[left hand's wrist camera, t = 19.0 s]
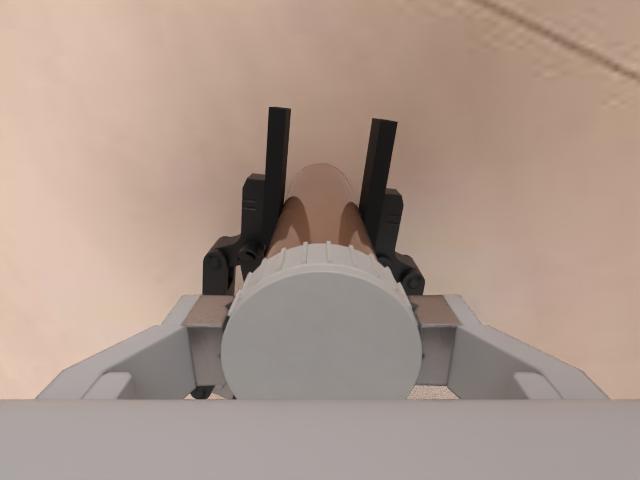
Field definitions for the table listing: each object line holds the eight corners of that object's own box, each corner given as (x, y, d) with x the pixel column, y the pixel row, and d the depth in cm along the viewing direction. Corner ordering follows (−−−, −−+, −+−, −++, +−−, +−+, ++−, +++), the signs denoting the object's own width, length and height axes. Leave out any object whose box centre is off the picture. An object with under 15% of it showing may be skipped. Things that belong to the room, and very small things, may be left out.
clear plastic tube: (300, 154, 24) (264, 246, 8) (359, 175, 24) (431, 299, 9) (282, 212, 25) (220, 385, 9) (338, 230, 26) (367, 424, 10)
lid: (358, 410, 11) (365, 462, 10) (209, 355, 10) (189, 401, 9) (442, 284, 10) (466, 319, 8) (273, 208, 9) (263, 231, 7)
